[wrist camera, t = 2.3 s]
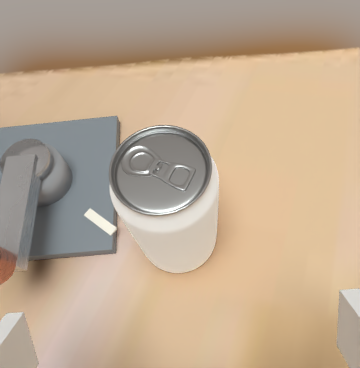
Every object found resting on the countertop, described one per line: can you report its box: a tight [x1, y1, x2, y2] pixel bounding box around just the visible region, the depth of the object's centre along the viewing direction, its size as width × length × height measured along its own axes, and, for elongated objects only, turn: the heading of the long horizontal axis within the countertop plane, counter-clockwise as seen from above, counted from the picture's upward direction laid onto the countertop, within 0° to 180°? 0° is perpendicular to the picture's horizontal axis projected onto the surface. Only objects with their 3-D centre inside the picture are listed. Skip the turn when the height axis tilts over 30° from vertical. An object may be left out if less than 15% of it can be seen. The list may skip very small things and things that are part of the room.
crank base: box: [0, 116, 120, 261], centre depth 30 cm, size 13×14×4 cm
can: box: [109, 125, 219, 273], centre depth 23 cm, size 6×6×12 cm
